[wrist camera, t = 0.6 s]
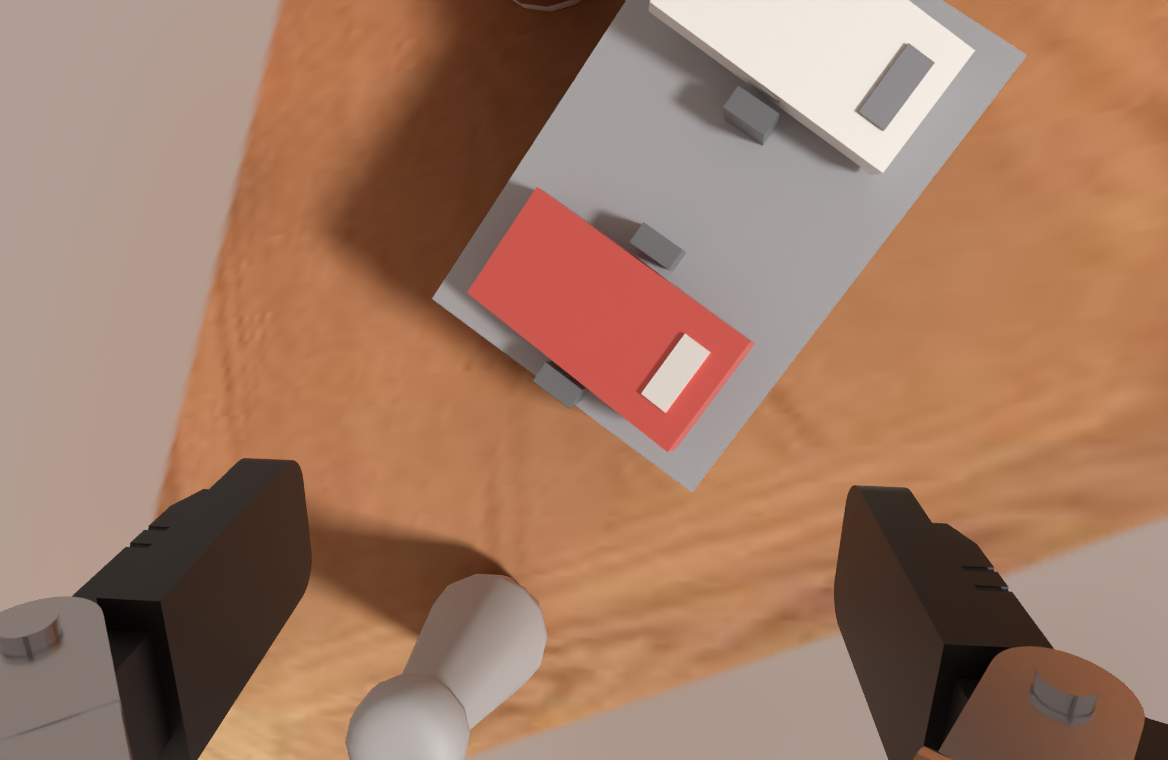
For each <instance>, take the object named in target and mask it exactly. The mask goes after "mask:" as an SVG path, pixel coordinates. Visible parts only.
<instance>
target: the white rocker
mask: <svg viewBox="0 0 1168 760" xmlns="http://www.w3.org/2000/svg"><path fill="white" fill-rule="evenodd" d="M649 12H650V13H652V14H653V15H654V16H656V17H657V18H658V19H660V20H661V21H662V22H664V23H665V24H667V25H668V26H669V27H671V28H672V29H673V30H675V31H676V32H677V33H679V34H680V35H682V36H683V37H684V38H686V39H687V40H688V41H690V42H691V43H692V44H694V45H695V46H697V47H698V48H699V49H701V50H702V51H703V52H705V53H706V54H707V55H709V56H710V57H712V58H713V59H714V60H716V61H717V62H718V63H720V64H721V65H722V66H724V67H725V68H727V69H728V70H729V71H731V72H732V73H733V74H735V75H736V76H737V77H739V78H740V79H742V80H743V81H744V82H746V83H747V84H748V85H750V86H751V87H752V88H754V89H755V90H757V91H758V92H759V93H761V94H762V95H763V96H765V97H766V98H767V99H769V100H770V101H772V102H773V103H774V104H776V105H777V106H778V107H780V108H781V109H782V110H784V111H785V112H787V113H788V114H789V115H791V116H792V117H793V118H795V119H796V120H797V121H799V122H800V123H802V124H803V125H804V126H806V127H807V128H808V129H810V130H811V131H812V132H814V133H815V134H817V135H818V136H819V137H821V138H822V139H823V140H825V141H826V142H827V143H829V144H830V145H831V146H833V147H834V148H836V149H837V150H838V151H840V152H841V153H842V154H844V155H845V156H846V157H848V158H849V159H851V160H852V161H853V162H855V163H856V164H857V165H859V166H860V167H861V168H863V169H864V170H866V171H867V172H868V173H870V174H871V175H875V174H881V173H883V172H884V171H885V170H886V168H887V167H888V166H889V164H890V163H891V162H892V160H893V159H894V158H895V156H896V155H897V154H898V152H899V151H900V150H901V148H902V147H903V146H904V144H905V143H906V142H907V140H908V139H909V138H910V136H911V135H912V134H913V133H914V131H915V130H916V129H917V127H918V126H919V125H920V123H921V122H922V121H923V119H924V118H925V117H926V115H927V114H928V113H929V111H930V110H931V109H932V107H933V106H934V105H935V103H936V102H937V101H938V99H939V98H940V97H941V95H942V94H943V93H944V91H945V90H946V89H947V87H948V86H949V85H950V83H951V82H952V81H953V79H954V78H955V77H956V75H957V74H958V73H959V71H960V70H961V69H962V67H963V66H964V65H965V63H966V62H967V61H968V59H969V58H970V57H971V55H972V54H973V53H974V51H975V50H974V49H973V48H971V47H970V46H969V45H967V44H966V43H965V42H963V41H962V40H961V39H959V38H958V37H957V36H955V35H954V34H953V33H951V32H950V31H949V30H948V29H946V28H945V27H944V26H942V25H941V24H940V23H938V22H937V21H936V20H934V19H933V18H932V17H930V16H929V15H928V14H926V13H925V12H924V11H922V10H921V9H920V8H918V7H917V6H916V5H914V4H913V3H912V2H910V1H909V0H650V2H649Z"/></svg>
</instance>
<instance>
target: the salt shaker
mask: <svg viewBox="0 0 1168 760" xmlns="http://www.w3.org/2000/svg"><path fill="white" fill-rule="evenodd" d="M546 639H547V632H546V627H545V623H544V618H543V614H542V610H541V607H540V605H539V602H538V601H537V600H536V599H535V598H534V597H533V596H531V595H530V594H529V593H528V591H527V590H526V589H525V588H524V587H522V586H520V585H519V584H518V583H517V582H515V581H514V580H513V579H512V578H511V577H508V576H504V575H493V574H474V575H472V576H469V577H467V578H464V579H462V580H459V581H456V582H454V583H452V584H449V585H448V586H447V587H446V589H445V590H444V591H443V592H442V594H441V595H440V596H439V598H438V599H437V600H436V601H435V603H434V604H433V606H432V608H431V610H430V612H429V615H428V617H427V619H426V621H425V624H424V626H423V628H422V631H421V633H420V635H419V637H418V640H417V642H416V644H415V646H414V649H413V651H412V653H411V655H410V658H409V660H408V662H407V664H406V667H405V669H404V671H403V673H402V674H401V675H399V676H396V677H393V678H391V679H388V680H386V681H383V682H380V683H379V684H378V685H376V686H375V687H374V688H373V689H372V690H371V691H370V692H369V693H368V694H367V696H366V697H365V698H364V699H363V701H362V702H361V703H360V704H359V706H358V707H357V708H356V710H355V712H354V713H353V715H352V717H351V719H350V723H349V728H348V732H347V737H346V742H345V743H346V747H347V751H348V755H349V759H350V760H464V759H465V755H466V750H467V745H468V741H469V736H470V730H471V729H472V728H473V727H474V726H475V725H476V724H477V723H478V722H479V721H481V720H482V719H483V718H484V717H485V716H487V715H488V714H489V713H490V712H492V711H493V710H494V709H495V708H496V707H498V706H499V705H500V704H501V703H502V702H504V701H505V700H506V699H507V698H508V697H510V696H511V695H512V694H513V693H514V692H516V691H517V690H518V689H519V688H520V687H522V686H523V685H524V684H525V683H526V681H527V680H528V679H529V678H530V677H531V676H532V675H533V673H534V672H535V671H536V670H537V669H538V668H539V667H540V664H541V660H542V656H543V652H544V648H545V643H546Z"/></svg>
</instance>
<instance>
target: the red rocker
mask: <svg viewBox="0 0 1168 760" xmlns="http://www.w3.org/2000/svg"><path fill="white" fill-rule="evenodd" d="M467 293H468V294H469V295H471V296H472V297H473V298H474V299H476V300H477V301H478V302H479V303H481V304H482V305H483V306H484V307H486V308H487V309H488V310H489V311H491V312H492V313H493V314H495V315H496V316H497V317H498V318H500V319H501V320H502V321H503V322H505V323H506V324H507V325H508V326H510V327H511V328H512V329H513V330H515V331H516V332H517V333H518V334H520V335H521V336H522V337H523V338H525V339H526V340H527V341H528V342H530V343H531V344H532V345H533V346H535V347H536V348H537V349H538V350H540V351H541V352H542V353H543V354H545V355H546V356H547V357H548V358H550V359H551V360H552V361H553V362H555V363H556V364H557V365H558V366H560V367H561V368H562V369H564V370H565V371H566V372H567V373H569V374H570V375H571V376H572V377H574V378H575V379H576V380H577V381H579V382H580V383H581V384H582V385H584V386H585V387H586V388H587V389H589V390H590V391H591V392H592V393H594V394H595V395H596V396H597V397H599V398H600V399H601V400H602V401H604V402H605V403H606V404H607V405H609V406H610V407H611V408H612V409H614V410H615V411H616V412H617V413H619V414H620V415H621V416H622V417H624V418H625V419H626V420H627V421H629V422H630V423H631V424H633V425H634V426H635V427H636V428H638V429H639V430H640V431H641V432H643V433H644V434H645V435H646V436H648V437H649V438H650V439H651V440H653V441H654V442H655V443H656V444H658V445H659V446H660V447H661V448H663V449H664V450H665V451H666V452H670V451H673V450H676V448H677V447H678V446H679V445H680V443H681V442H682V441H683V439H684V438H685V437H686V435H687V434H688V433H689V431H690V430H691V429H692V427H693V426H694V425H695V423H696V422H697V421H698V419H699V418H700V417H701V415H702V414H703V413H704V411H705V410H706V409H707V407H708V406H709V405H710V403H711V402H712V401H713V399H714V398H715V397H716V395H717V394H718V393H719V391H720V390H721V389H722V387H723V386H724V385H725V383H726V382H727V381H728V379H729V378H730V377H731V375H732V374H733V373H734V371H735V370H736V369H737V367H738V366H739V365H740V363H741V362H742V361H743V359H744V358H745V357H746V355H747V354H748V353H749V351H750V350H751V349H752V347H753V346H754V345H755V343H754V342H753V341H751V340H750V339H748V338H747V337H746V336H744V335H743V334H742V333H740V332H739V331H737V330H736V329H735V328H733V327H732V326H731V325H729V324H728V323H726V322H725V321H724V320H722V319H721V318H720V317H718V316H717V315H715V314H714V313H713V312H711V311H710V310H708V309H707V308H706V307H704V306H703V305H702V304H700V303H699V302H697V301H696V300H695V299H693V298H692V297H691V296H689V295H688V294H686V293H685V292H684V291H682V290H681V289H679V288H678V287H677V286H675V285H674V284H673V283H671V282H670V281H668V280H667V279H666V278H664V277H663V276H662V275H660V274H659V273H657V272H656V271H655V270H653V269H652V268H651V267H649V266H648V265H646V264H645V263H644V262H642V261H641V260H639V259H638V258H637V257H635V256H634V255H633V254H631V253H630V252H628V251H627V250H626V249H624V248H623V247H622V246H620V245H619V244H617V243H616V242H615V241H613V240H612V239H610V238H609V237H608V236H606V235H605V234H604V233H602V232H601V231H599V230H598V229H597V228H595V227H594V226H593V225H591V224H590V223H588V222H587V221H586V220H584V219H583V218H582V217H580V216H579V215H577V214H576V213H575V212H573V211H572V210H570V209H569V208H568V207H566V206H565V205H564V204H562V203H561V202H559V201H558V200H557V199H555V198H554V197H553V196H551V195H550V194H548V193H546V192H545V191H543V190H542V189H540V188H538V187H536V189H535V190H534V192H533V193H532V195H531V196H530V198H529V199H528V201H527V202H526V204H525V205H524V207H523V209H522V210H521V212H520V213H519V215H518V216H517V218H516V219H515V221H514V222H513V224H512V225H511V227H510V228H509V230H508V231H507V233H506V234H505V236H504V237H503V239H502V240H501V242H500V243H499V245H498V246H497V248H496V249H495V251H494V253H493V254H492V256H491V257H490V259H489V260H488V262H487V263H486V265H485V266H484V268H483V269H482V271H481V272H480V274H479V275H478V277H477V278H476V280H475V281H474V283H473V284H472V286H471V287H470V289H469V290H468V292H467Z"/></svg>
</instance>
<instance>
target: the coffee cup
mask: <svg viewBox="0 0 1168 760" xmlns="http://www.w3.org/2000/svg"><path fill="white" fill-rule="evenodd" d="M512 1H514V2H515V3H517V4H519V5H520V6H522V7H523V8H526V9H534V10H541V11H549V12H551V11H555V10H558V9H562V8H565V7H569V6H572V5H576V4H578V3H579V2H580V1H581V0H512Z"/></svg>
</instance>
